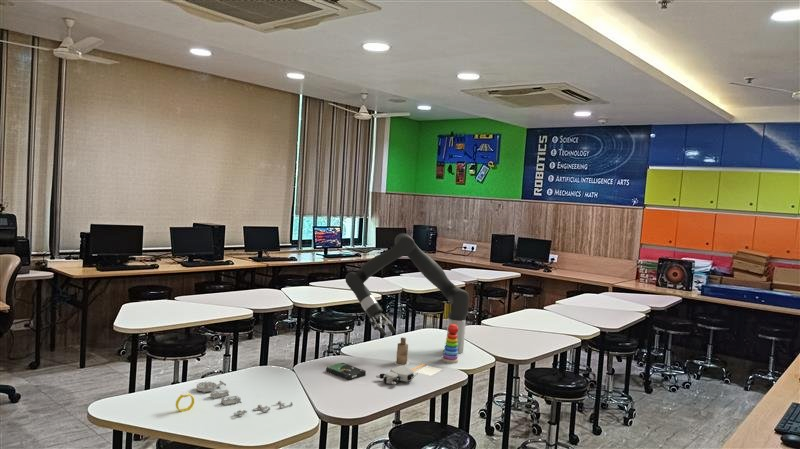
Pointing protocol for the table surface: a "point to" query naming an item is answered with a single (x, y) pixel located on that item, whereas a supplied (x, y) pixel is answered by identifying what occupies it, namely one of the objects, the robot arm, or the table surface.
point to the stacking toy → (451, 345)
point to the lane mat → (424, 369)
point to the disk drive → (346, 371)
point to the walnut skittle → (402, 352)
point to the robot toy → (397, 375)
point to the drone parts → (212, 386)
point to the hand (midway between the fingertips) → (389, 334)
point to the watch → (182, 397)
